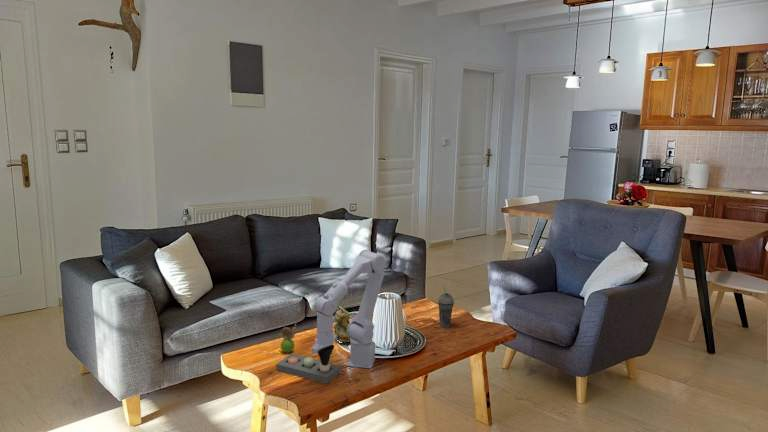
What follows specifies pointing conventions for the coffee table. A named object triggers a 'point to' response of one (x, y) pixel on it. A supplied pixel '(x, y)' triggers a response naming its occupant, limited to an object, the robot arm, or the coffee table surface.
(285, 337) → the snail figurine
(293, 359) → the terracotta button
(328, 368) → the cream button
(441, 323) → the beverage cup
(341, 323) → the decorative figurine
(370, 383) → the coffee table surface
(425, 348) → the coffee table surface
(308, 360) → the sage button
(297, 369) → the button panel
